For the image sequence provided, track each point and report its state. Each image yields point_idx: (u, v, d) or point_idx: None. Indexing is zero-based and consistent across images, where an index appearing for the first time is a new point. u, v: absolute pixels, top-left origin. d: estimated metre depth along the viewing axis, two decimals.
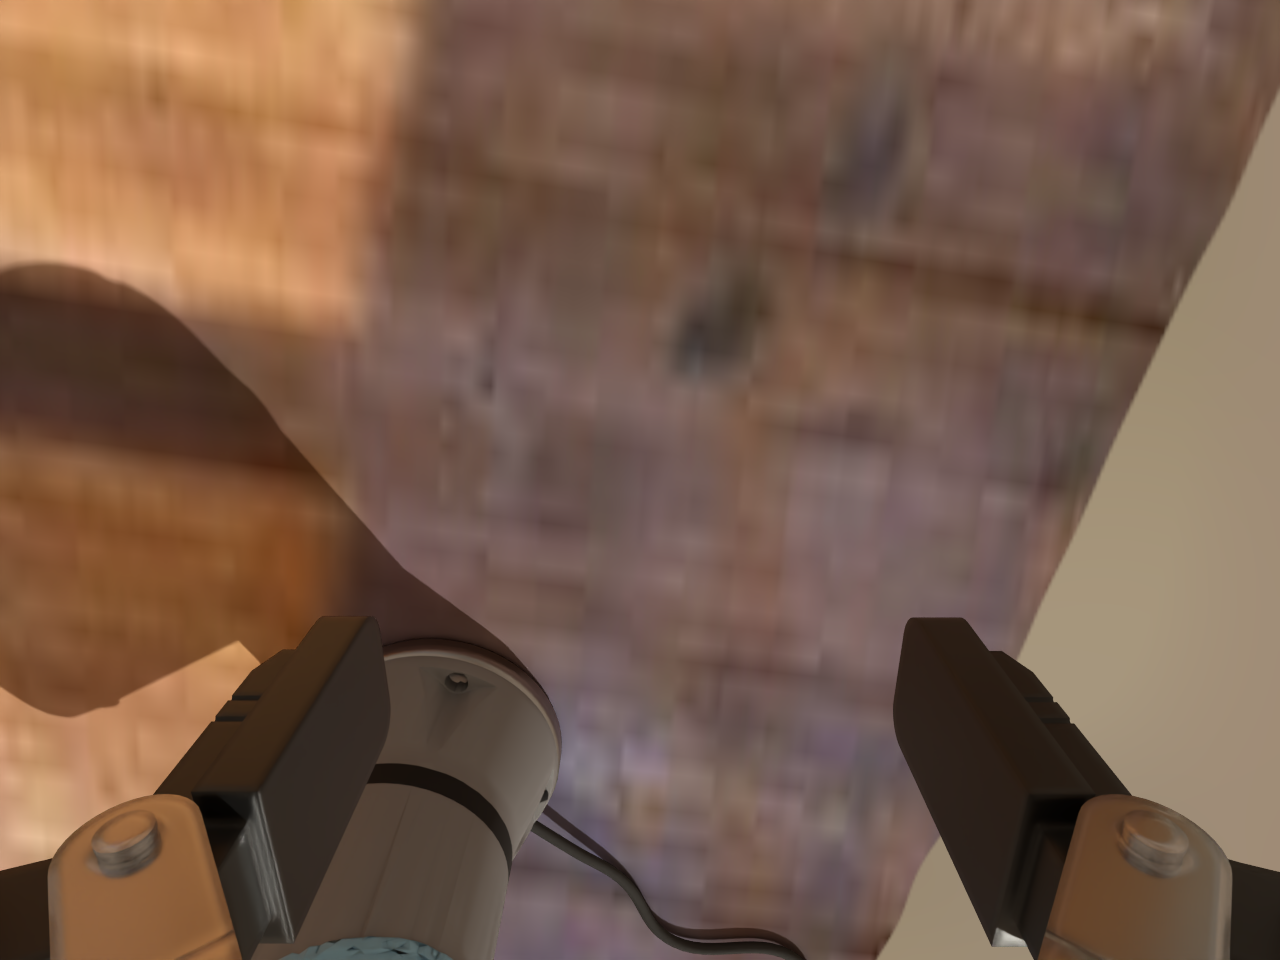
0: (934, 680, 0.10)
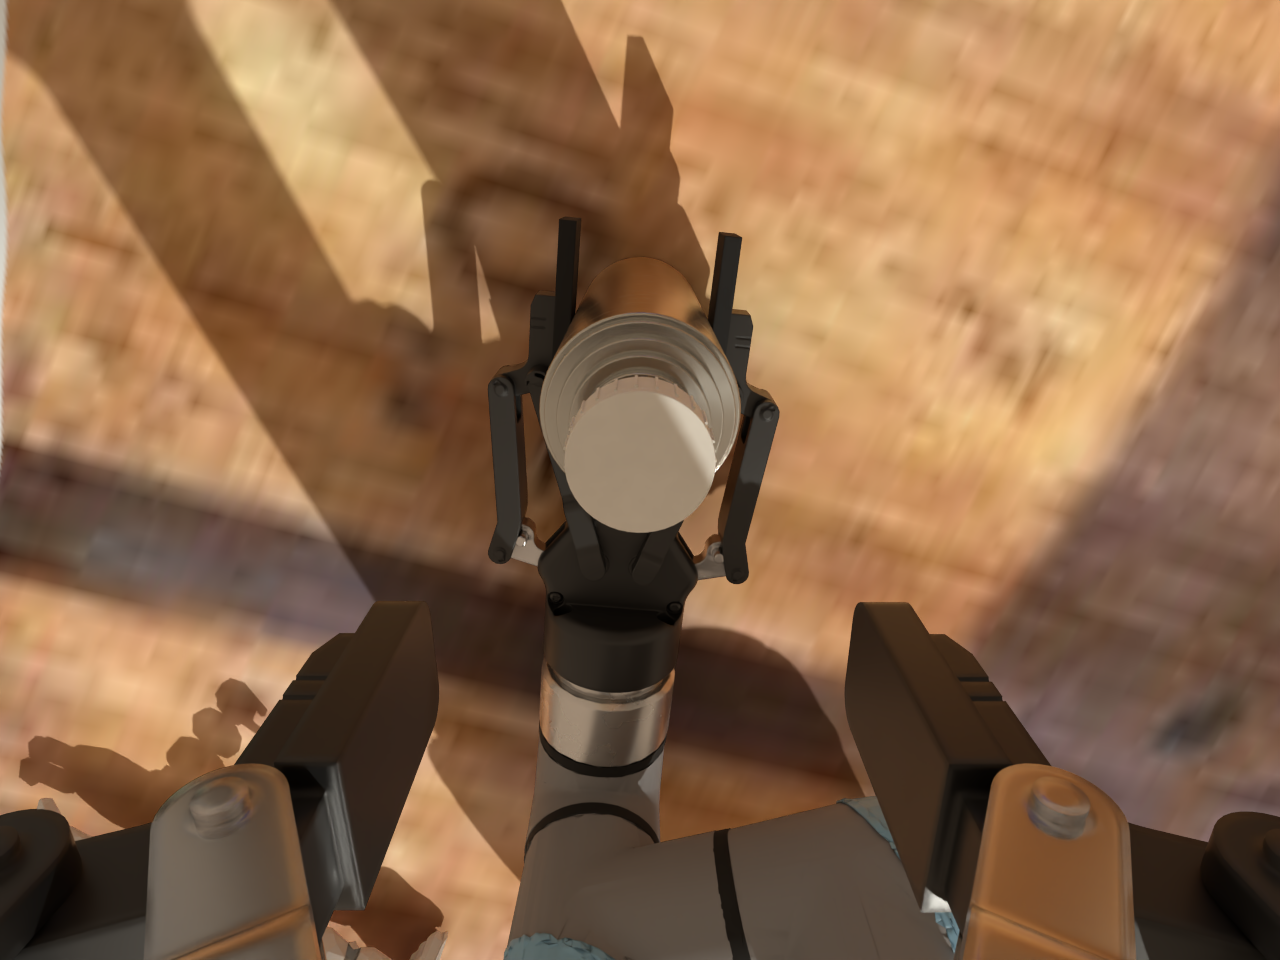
0: (877, 661, 0.10)
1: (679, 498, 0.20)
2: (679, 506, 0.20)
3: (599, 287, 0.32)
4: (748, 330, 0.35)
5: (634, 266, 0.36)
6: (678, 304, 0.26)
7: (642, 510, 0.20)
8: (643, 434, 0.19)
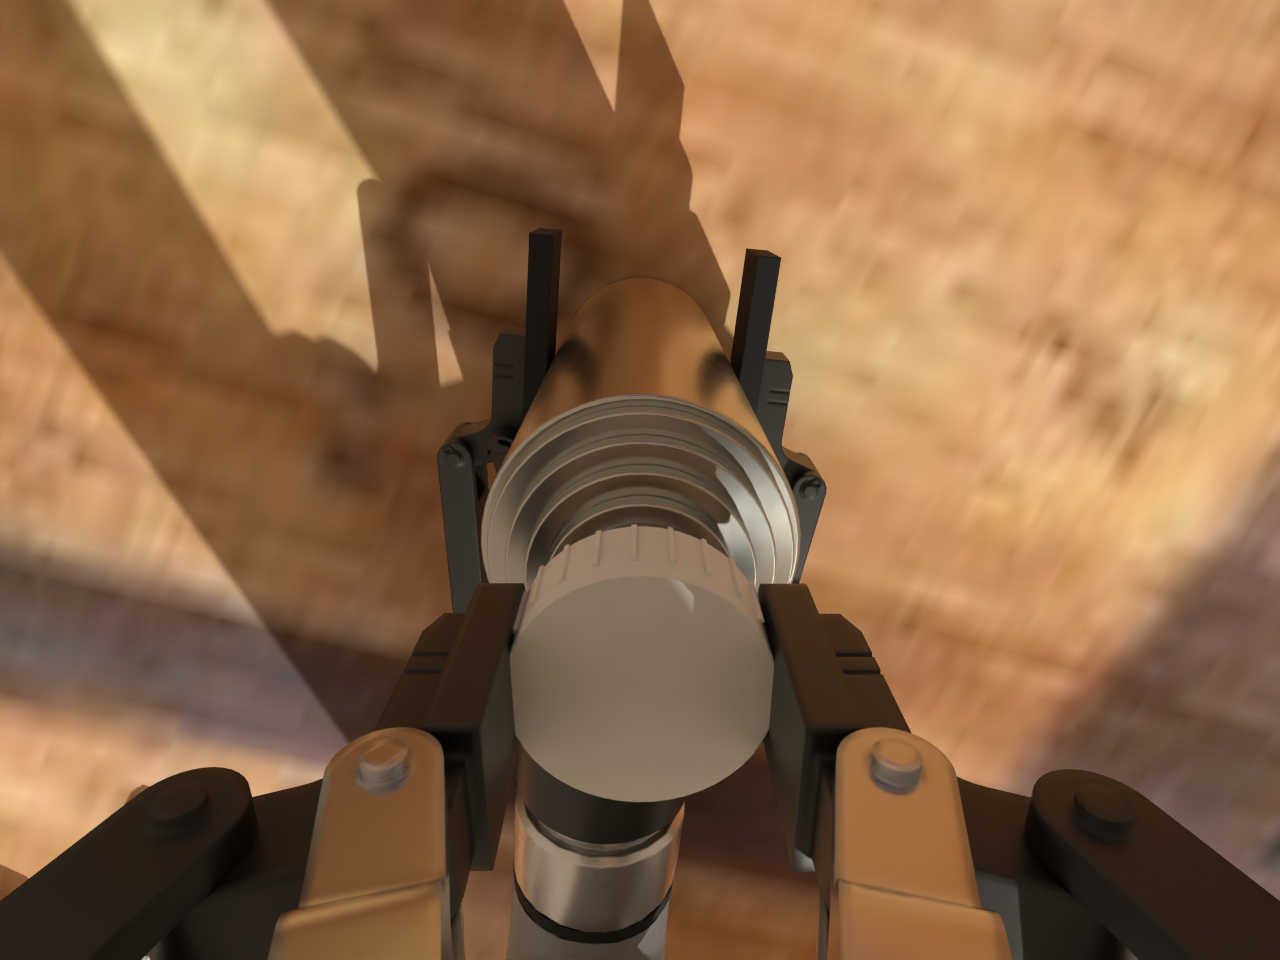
0: (769, 639, 0.11)
1: (711, 749, 0.11)
2: (711, 762, 0.11)
3: (584, 327, 0.23)
4: (786, 381, 0.26)
5: (633, 294, 0.27)
6: (698, 366, 0.17)
7: (645, 768, 0.11)
8: (647, 647, 0.11)
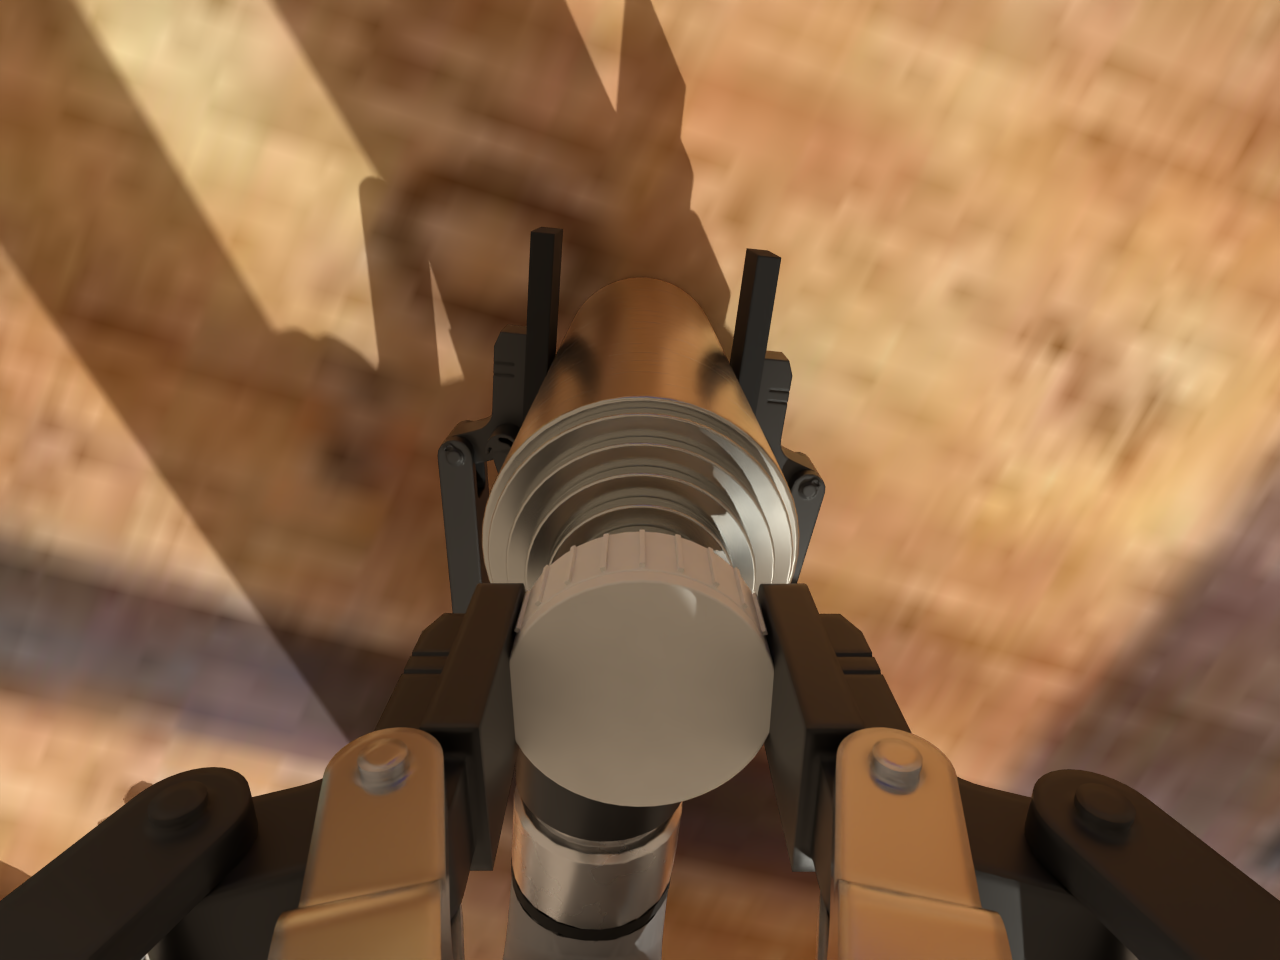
0: (770, 638, 0.11)
1: (686, 625, 0.10)
2: (702, 621, 0.10)
3: (585, 327, 0.23)
4: (785, 380, 0.26)
5: (633, 294, 0.27)
6: (698, 368, 0.17)
7: (727, 677, 0.11)
8: (582, 710, 0.11)
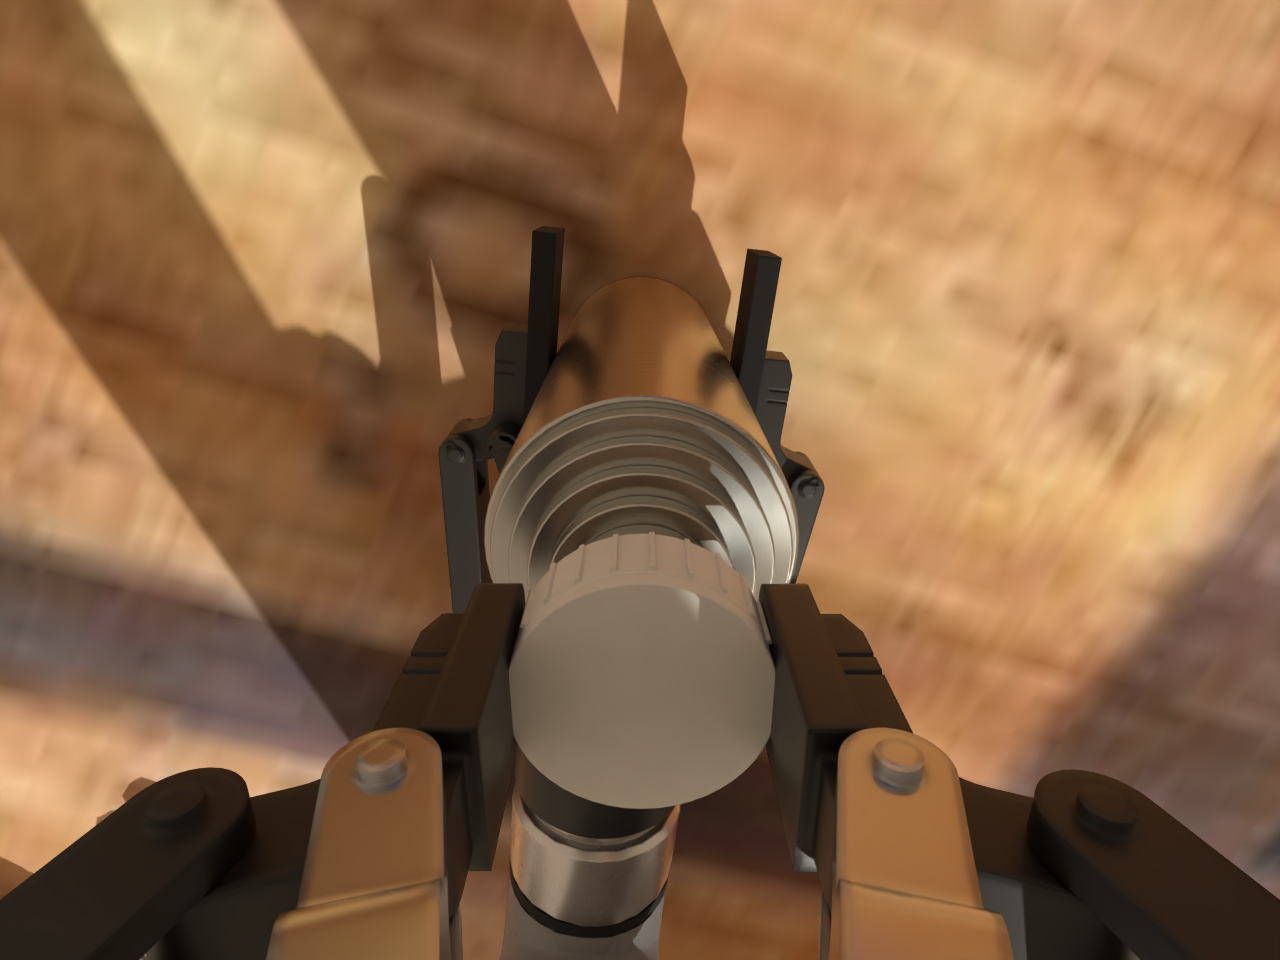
0: (771, 639, 0.11)
1: (543, 689, 0.11)
2: (534, 677, 0.11)
3: (586, 326, 0.24)
4: (785, 380, 0.26)
5: (634, 293, 0.27)
6: (699, 368, 0.18)
7: (587, 640, 0.10)
8: (666, 746, 0.11)
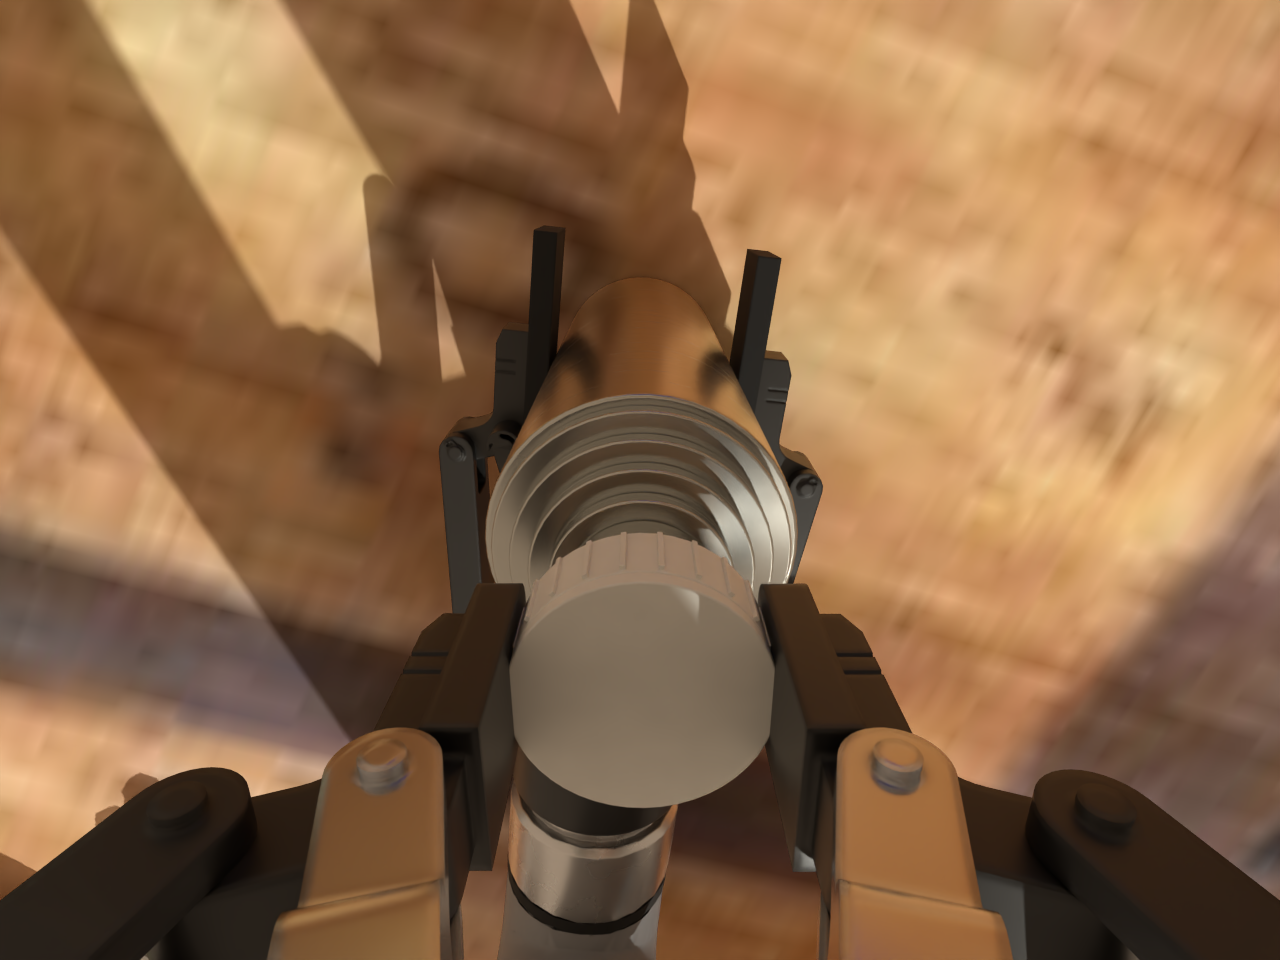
0: (770, 639, 0.11)
1: (651, 780, 0.11)
2: (641, 788, 0.11)
3: (586, 326, 0.24)
4: (784, 380, 0.26)
5: (634, 293, 0.27)
6: (699, 366, 0.18)
7: (586, 759, 0.11)
8: (686, 670, 0.11)
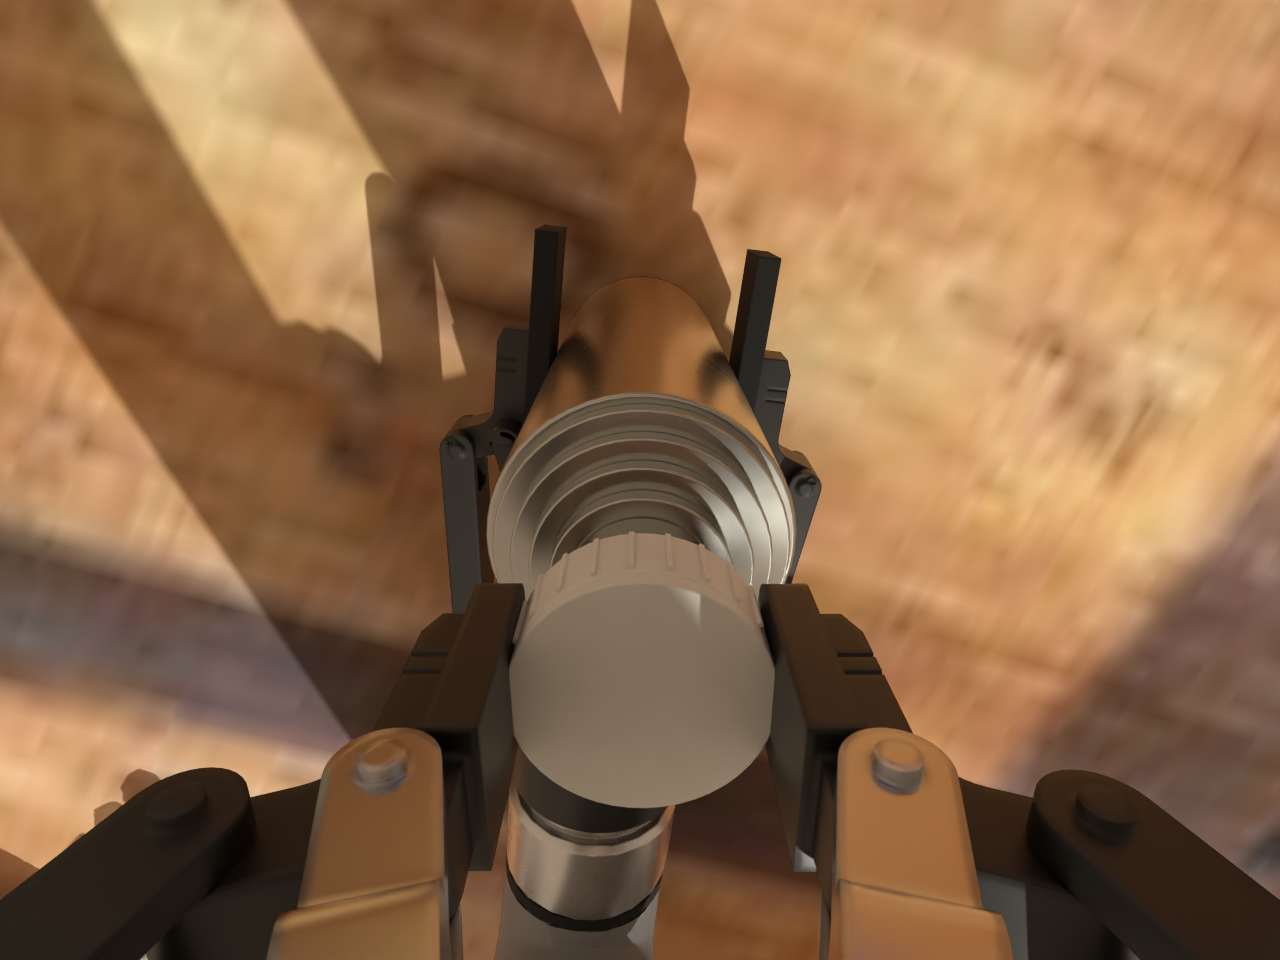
0: (771, 639, 0.11)
1: (735, 672, 0.11)
2: (749, 678, 0.11)
3: (587, 325, 0.24)
4: (784, 380, 0.26)
5: (635, 293, 0.27)
6: (699, 366, 0.18)
7: (724, 731, 0.11)
8: (591, 678, 0.11)
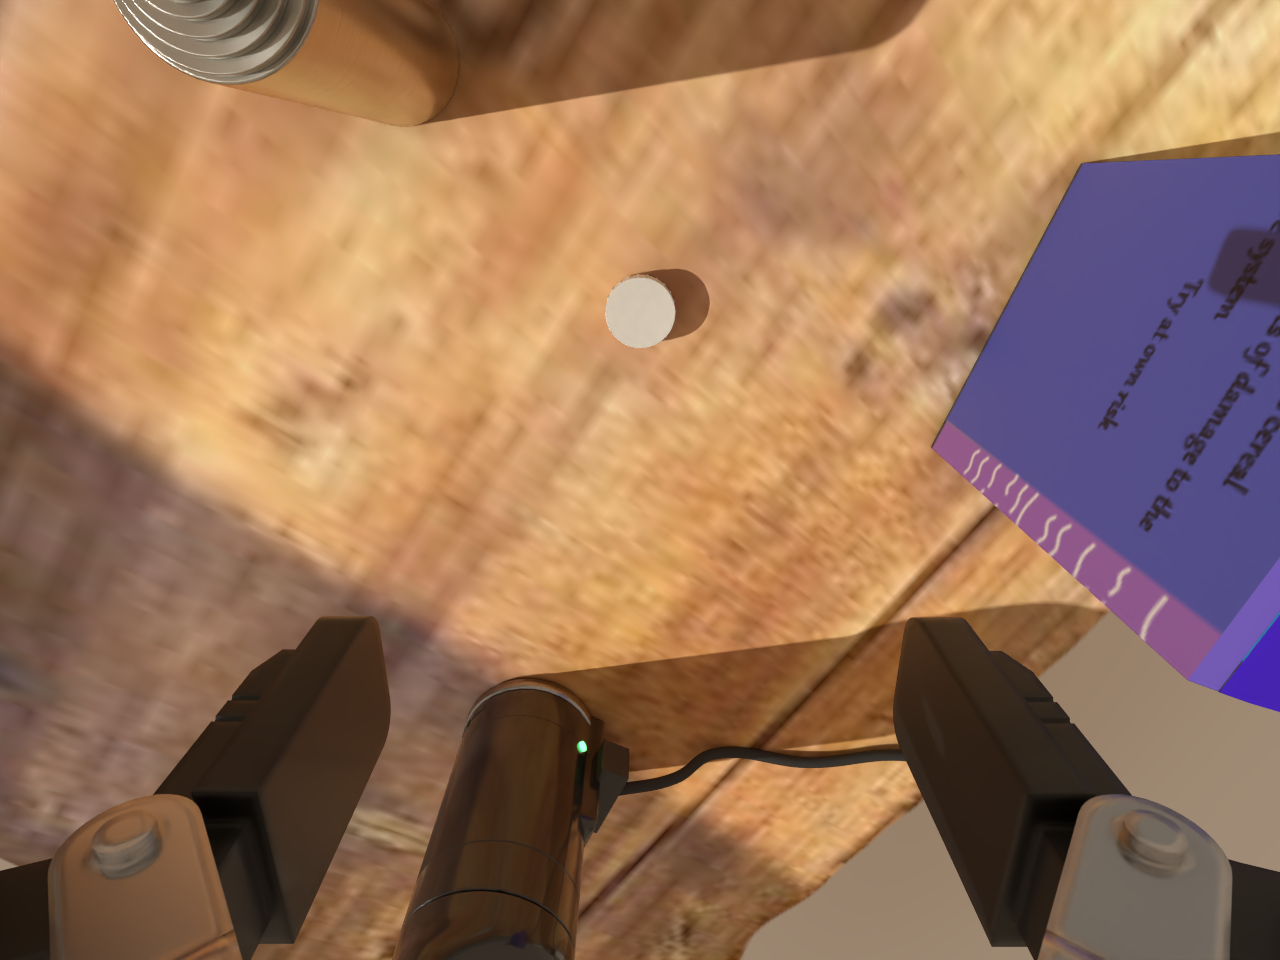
0: (934, 680, 0.10)
1: (663, 303, 0.43)
2: (667, 305, 0.43)
3: (407, 2, 0.31)
4: None
5: (435, 59, 0.35)
6: (344, 62, 0.26)
7: (661, 322, 0.43)
8: (627, 305, 0.43)
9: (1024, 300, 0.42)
